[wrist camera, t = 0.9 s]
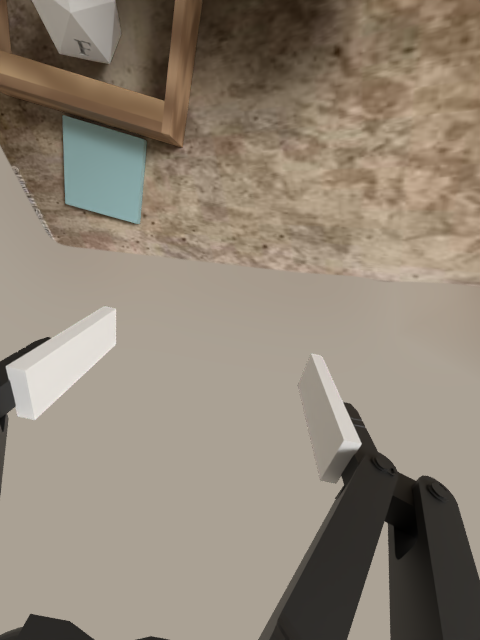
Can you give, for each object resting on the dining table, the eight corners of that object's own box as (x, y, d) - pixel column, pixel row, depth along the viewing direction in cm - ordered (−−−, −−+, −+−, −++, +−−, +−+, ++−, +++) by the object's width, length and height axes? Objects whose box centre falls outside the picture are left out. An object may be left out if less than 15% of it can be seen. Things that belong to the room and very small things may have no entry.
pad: (67, 117, 32) (62, 114, 32) (146, 141, 33) (143, 139, 32) (70, 204, 37) (65, 203, 36) (139, 223, 37) (137, 223, 36)
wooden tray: (-15, -121, 25) (-84, -208, 20) (208, -45, 26) (197, -108, 21) (8, 95, 32) (-39, 72, 27) (182, 147, 33) (169, 135, 28)
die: (56, 48, 30) (40, 66, 25) (19, -82, 23) (-13, -93, 18) (126, 63, 33) (125, 82, 28) (111, -51, 26) (106, -53, 21)
